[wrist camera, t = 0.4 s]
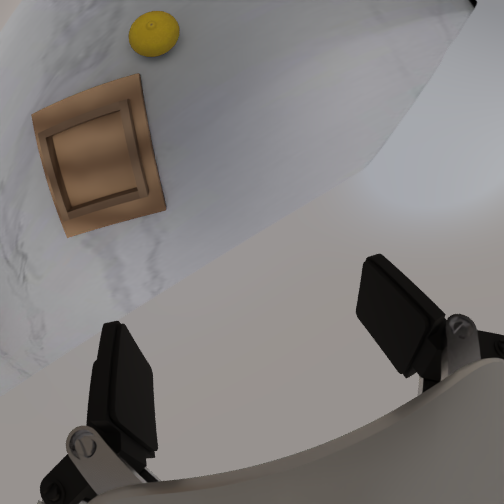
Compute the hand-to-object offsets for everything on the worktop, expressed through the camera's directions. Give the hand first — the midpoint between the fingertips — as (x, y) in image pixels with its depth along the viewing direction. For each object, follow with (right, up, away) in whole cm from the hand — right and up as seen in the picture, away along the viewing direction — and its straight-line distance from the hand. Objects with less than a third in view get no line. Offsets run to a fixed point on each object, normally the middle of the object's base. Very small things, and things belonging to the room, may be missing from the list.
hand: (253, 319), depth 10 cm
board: (-20, +14, +19) cm, 31 cm away
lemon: (-12, +28, +14) cm, 33 cm away
